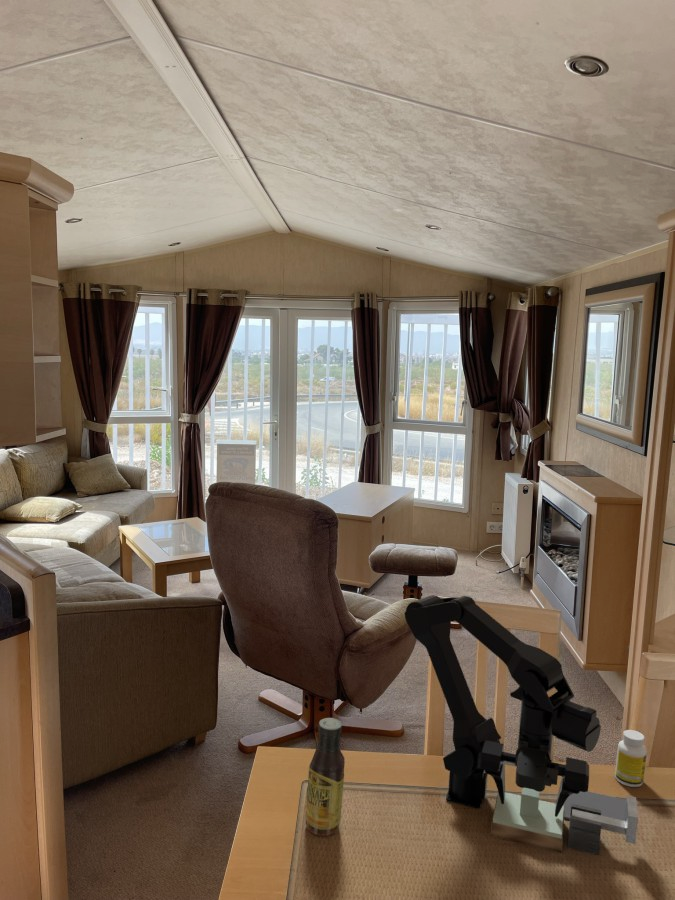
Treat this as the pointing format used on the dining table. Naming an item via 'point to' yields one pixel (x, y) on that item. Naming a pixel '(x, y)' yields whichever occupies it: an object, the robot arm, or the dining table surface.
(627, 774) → the supplement bottle
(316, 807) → the sauce bottle
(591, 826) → the lock block
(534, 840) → the case
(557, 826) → the cover
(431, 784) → the dining table surface
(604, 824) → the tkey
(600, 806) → the grey flat plate
